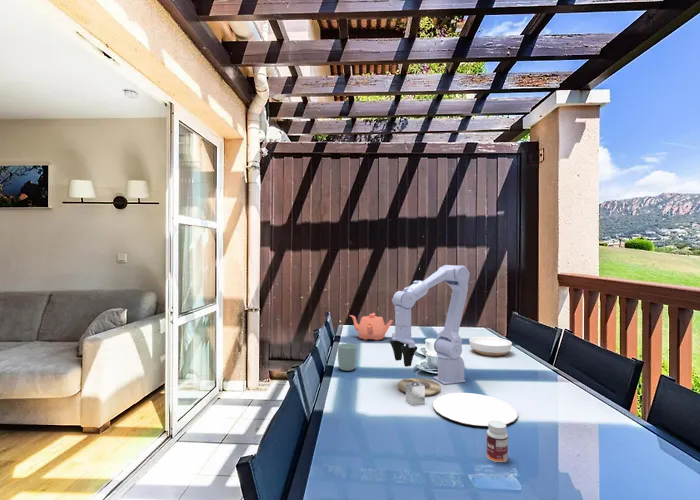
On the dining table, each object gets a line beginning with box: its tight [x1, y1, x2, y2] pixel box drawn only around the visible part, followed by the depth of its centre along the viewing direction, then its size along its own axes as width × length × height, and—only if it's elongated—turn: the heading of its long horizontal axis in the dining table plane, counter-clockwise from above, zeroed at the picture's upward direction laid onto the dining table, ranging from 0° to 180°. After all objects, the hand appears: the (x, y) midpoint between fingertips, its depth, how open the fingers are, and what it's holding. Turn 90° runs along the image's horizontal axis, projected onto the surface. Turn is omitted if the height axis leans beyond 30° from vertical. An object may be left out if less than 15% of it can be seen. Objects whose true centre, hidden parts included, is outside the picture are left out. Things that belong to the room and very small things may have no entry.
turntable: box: [397, 377, 442, 396], centre depth 140 cm, size 15×15×4 cm
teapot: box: [348, 312, 394, 342], centre depth 219 cm, size 18×18×14 cm
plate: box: [432, 392, 518, 428], centre depth 121 cm, size 25×25×2 cm
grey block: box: [405, 381, 426, 406], centre depth 128 cm, size 4×4×6 cm
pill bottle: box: [486, 420, 509, 463], centre depth 94 cm, size 5×5×8 cm
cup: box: [337, 342, 358, 372], centre depth 163 cm, size 8×8×10 cm
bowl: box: [468, 336, 513, 357], centre depth 190 cm, size 20×20×6 cm
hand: (402, 363), depth 140 cm, fingers open, 7 cm apart
